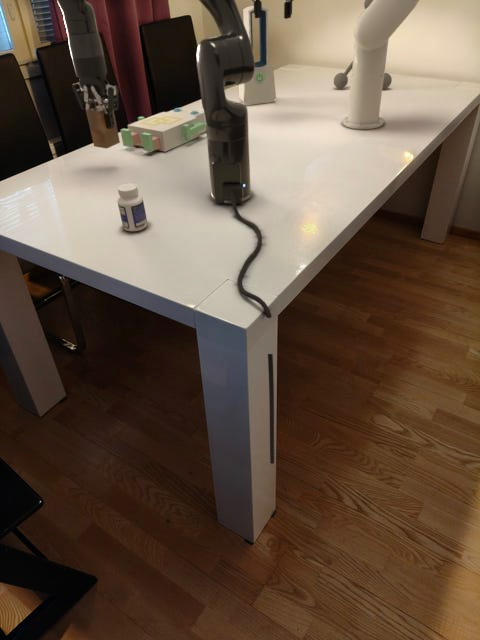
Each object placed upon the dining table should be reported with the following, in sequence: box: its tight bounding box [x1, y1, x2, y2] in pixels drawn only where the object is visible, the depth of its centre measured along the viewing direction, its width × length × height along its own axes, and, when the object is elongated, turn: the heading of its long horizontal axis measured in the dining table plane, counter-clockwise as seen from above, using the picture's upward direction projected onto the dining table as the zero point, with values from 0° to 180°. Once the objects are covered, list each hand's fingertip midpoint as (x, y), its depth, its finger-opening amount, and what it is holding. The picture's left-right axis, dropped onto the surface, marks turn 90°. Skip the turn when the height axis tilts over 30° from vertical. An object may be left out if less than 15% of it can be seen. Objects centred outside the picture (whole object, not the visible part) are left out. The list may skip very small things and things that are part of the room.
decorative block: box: [120, 107, 206, 153], centre depth 149 cm, size 26×6×20 cm
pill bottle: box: [117, 182, 148, 232], centre depth 102 cm, size 5×5×9 cm
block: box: [85, 104, 121, 149], centre depth 127 cm, size 4×5×9 cm
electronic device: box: [238, 5, 277, 106], centre depth 173 cm, size 12×8×30 cm, turn 105°
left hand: (103, 126), depth 127 cm, fingers closed on block, 4 cm apart
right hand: (272, 17), depth 143 cm, fingers open, 9 cm apart
